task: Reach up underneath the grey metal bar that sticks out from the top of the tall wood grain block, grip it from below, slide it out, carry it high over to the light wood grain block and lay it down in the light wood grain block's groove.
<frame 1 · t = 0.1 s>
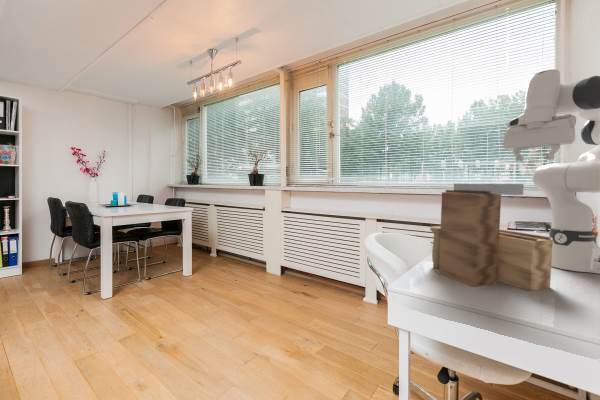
hand: (533, 160, 98), 39 cm above the table, tool pointing down, fingers open, 8 cm apart
tall wood grain block: (466, 278, 94), on the table
bar: (484, 193, 88), point 28 cm above the table, touching tall wood grain block
light wood grain block: (513, 280, 92), on the table
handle: (437, 268, 106), on the table
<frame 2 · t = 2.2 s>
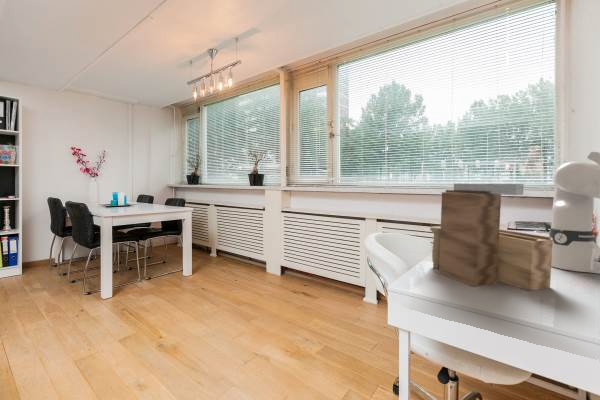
nothing on the table moved.
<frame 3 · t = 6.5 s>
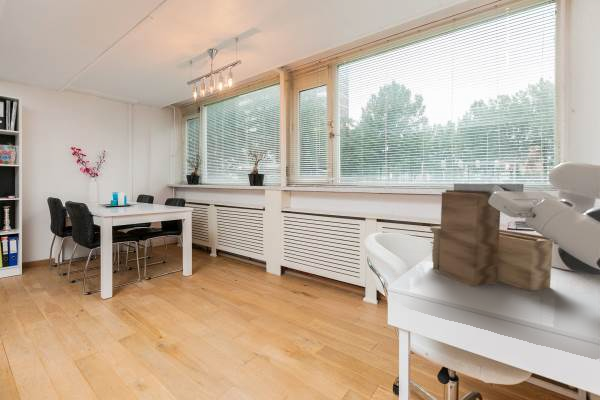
hand: (500, 187, 84), 30 cm above the table, tool pointing upward, fingers closed on bar, 3 cm apart
bar: (484, 193, 88), point 28 cm above the table, touching gripper, tall wood grain block
everything else where it was.
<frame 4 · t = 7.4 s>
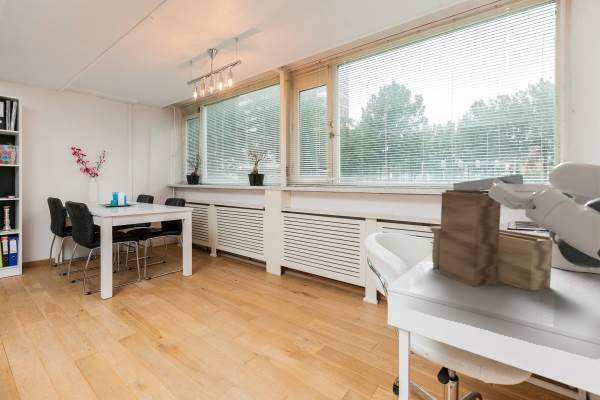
hand: (500, 180, 83), 32 cm above the table, tool pointing upward, fingers closed on bar, 3 cm apart
bar: (485, 189, 88), point 29 cm above the table, tilted 7°, touching gripper
everything else where it was.
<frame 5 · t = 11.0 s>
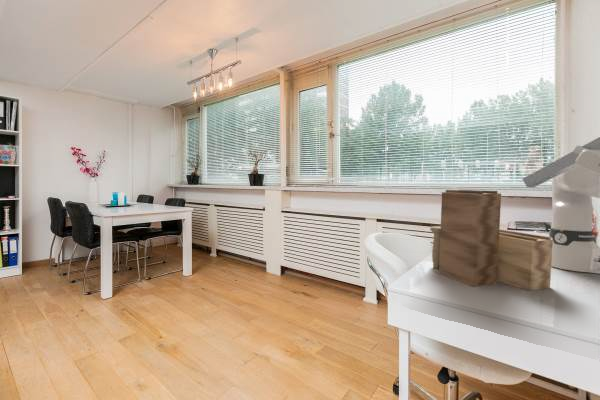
hand: (581, 148, 75), 40 cm above the table, tool pointing upward, fingers closed on bar, 3 cm apart
bar: (566, 169, 78), point 35 cm above the table, tilted 30°, touching gripper
everything else where it was.
when the fingers open (18 cm above the table, at t = 15.5 s): bar stays where it is, resting on light wood grain block.
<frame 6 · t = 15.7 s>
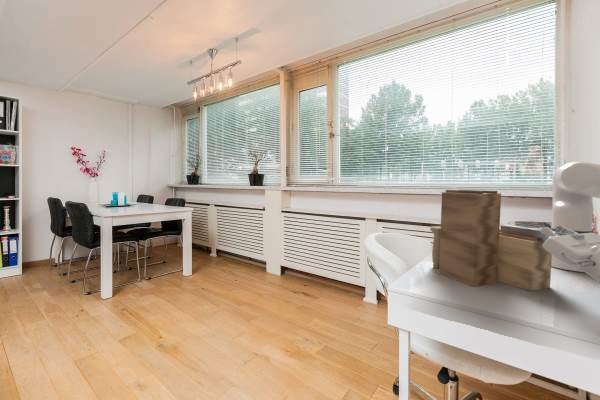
hand: (550, 228, 82), 18 cm above the table, tool pointing upward, fingers open, 5 cm apart
bar: (537, 239, 85), point 14 cm above the table, touching light wood grain block
everything else where it was.
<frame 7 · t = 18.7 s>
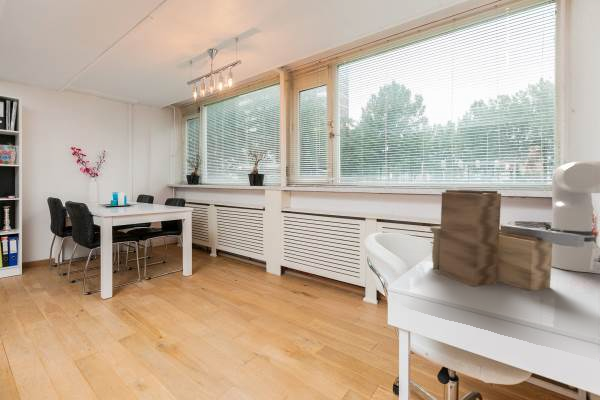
nothing on the table moved.
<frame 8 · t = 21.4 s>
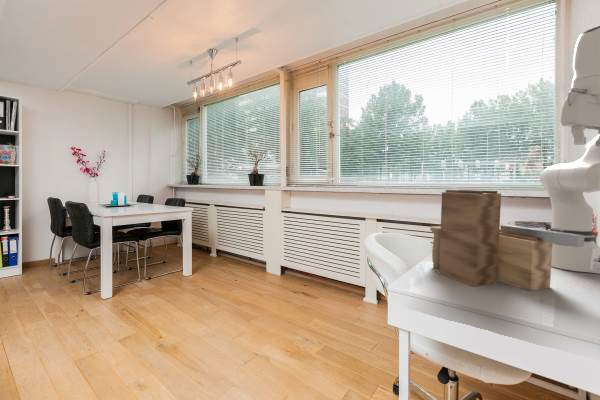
hand: (590, 145, 75), 41 cm above the table, tool pointing down, fingers open, 8 cm apart
nothing on the table moved.
at the end: bar inside the target area (5.7 cm from its centre), point 14.5 cm above the table; bar touching light wood grain block; the gripper is holding nothing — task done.
